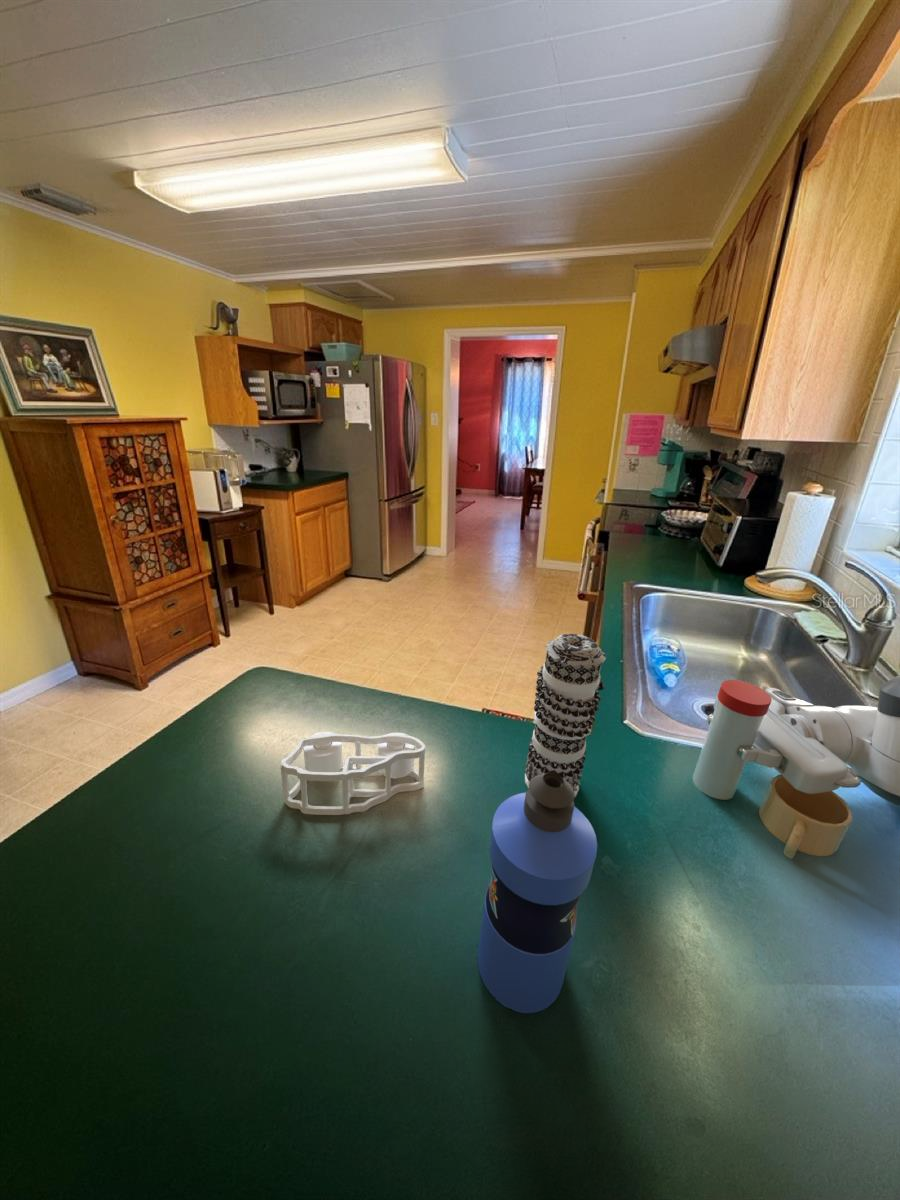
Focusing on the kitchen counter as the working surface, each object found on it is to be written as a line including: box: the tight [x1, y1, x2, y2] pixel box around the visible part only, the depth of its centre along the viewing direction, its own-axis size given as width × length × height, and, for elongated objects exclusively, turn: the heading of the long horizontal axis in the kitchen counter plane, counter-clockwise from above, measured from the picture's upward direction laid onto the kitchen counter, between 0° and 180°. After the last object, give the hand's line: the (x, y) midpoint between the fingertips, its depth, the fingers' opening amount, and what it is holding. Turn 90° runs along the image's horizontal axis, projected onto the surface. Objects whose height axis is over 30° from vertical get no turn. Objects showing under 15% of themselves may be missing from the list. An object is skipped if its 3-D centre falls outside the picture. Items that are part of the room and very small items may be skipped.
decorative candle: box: [524, 633, 607, 799], centre depth 69 cm, size 9×9×25 cm
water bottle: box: [477, 772, 598, 1014], centre depth 45 cm, size 9×9×25 cm
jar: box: [692, 679, 772, 801], centre depth 71 cm, size 6×6×18 cm
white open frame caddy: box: [280, 731, 427, 816], centre depth 70 cm, size 20×11×7 cm, turn 93°
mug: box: [758, 774, 854, 859], centre depth 66 cm, size 12×9×6 cm
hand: (724, 736), depth 71 cm, fingers closed on jar, 6 cm apart
